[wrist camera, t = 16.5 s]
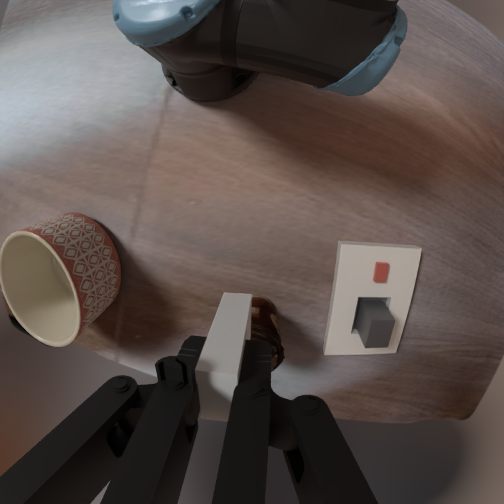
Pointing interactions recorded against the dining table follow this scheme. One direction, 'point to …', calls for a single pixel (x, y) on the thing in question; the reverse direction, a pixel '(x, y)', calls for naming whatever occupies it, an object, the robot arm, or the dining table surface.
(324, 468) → the robot arm
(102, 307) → the planter
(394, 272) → the faceplate
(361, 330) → the plug
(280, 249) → the dining table surface
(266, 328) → the coffee cup
